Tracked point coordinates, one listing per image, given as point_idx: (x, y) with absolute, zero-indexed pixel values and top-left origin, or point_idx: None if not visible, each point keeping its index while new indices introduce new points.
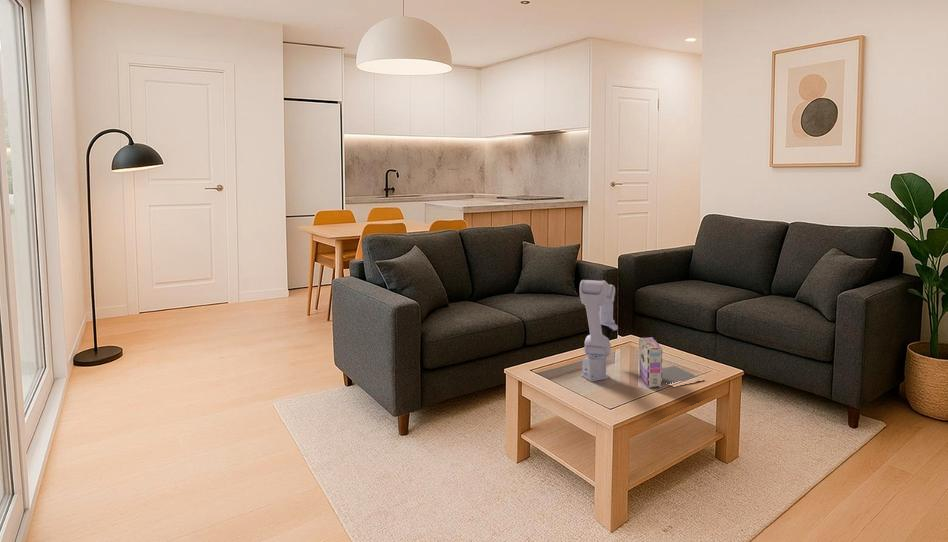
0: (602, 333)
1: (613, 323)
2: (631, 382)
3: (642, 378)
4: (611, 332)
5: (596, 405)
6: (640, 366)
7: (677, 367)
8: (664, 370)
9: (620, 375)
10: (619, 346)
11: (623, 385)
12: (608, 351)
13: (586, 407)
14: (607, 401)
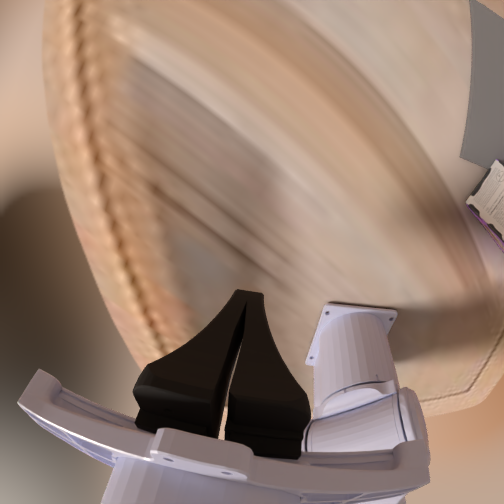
0: (227, 387)
1: (313, 481)
2: (467, 277)
3: (492, 237)
4: (283, 361)
5: (441, 401)
6: (501, 244)
7: (488, 9)
8: (493, 76)
9: (409, 262)
10: (92, 5)
11: (456, 312)
12: (420, 416)
13: (428, 413)
14: (454, 383)
